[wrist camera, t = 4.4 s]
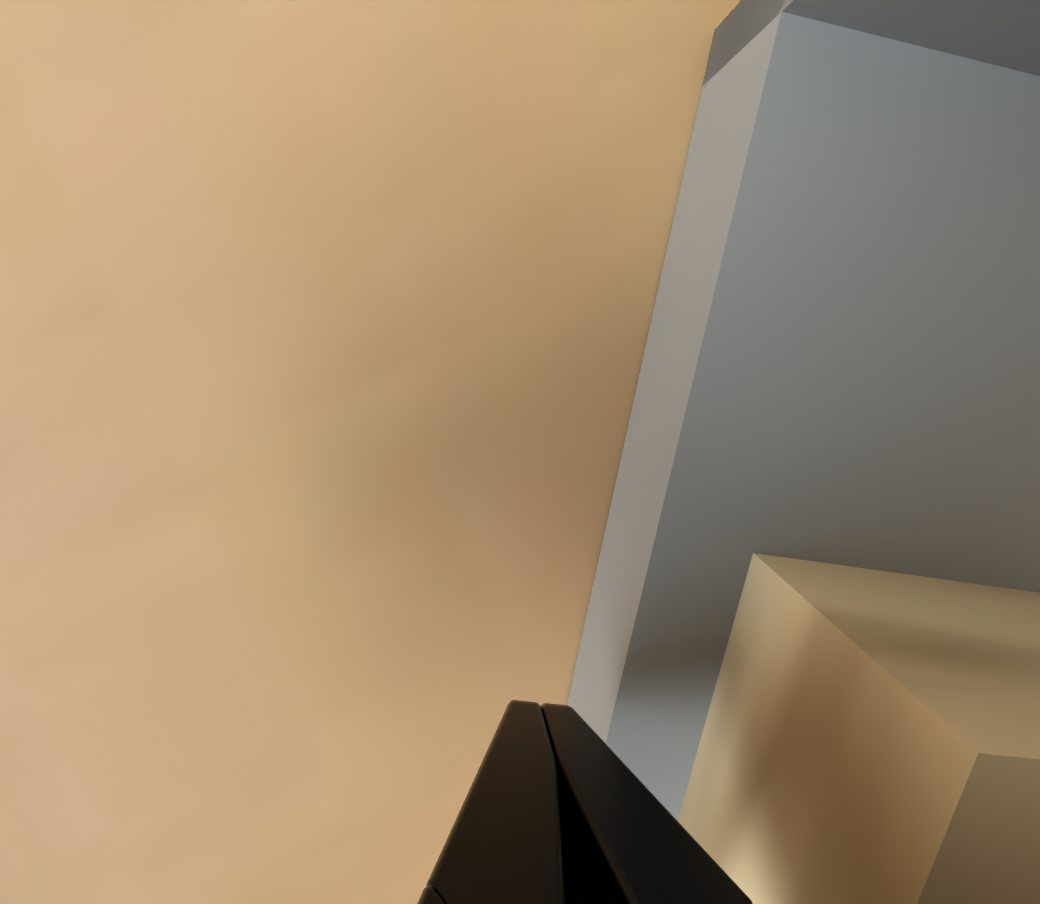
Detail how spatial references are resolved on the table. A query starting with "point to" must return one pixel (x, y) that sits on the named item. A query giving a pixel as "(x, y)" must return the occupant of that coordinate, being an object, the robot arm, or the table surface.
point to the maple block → (873, 740)
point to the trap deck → (827, 343)
